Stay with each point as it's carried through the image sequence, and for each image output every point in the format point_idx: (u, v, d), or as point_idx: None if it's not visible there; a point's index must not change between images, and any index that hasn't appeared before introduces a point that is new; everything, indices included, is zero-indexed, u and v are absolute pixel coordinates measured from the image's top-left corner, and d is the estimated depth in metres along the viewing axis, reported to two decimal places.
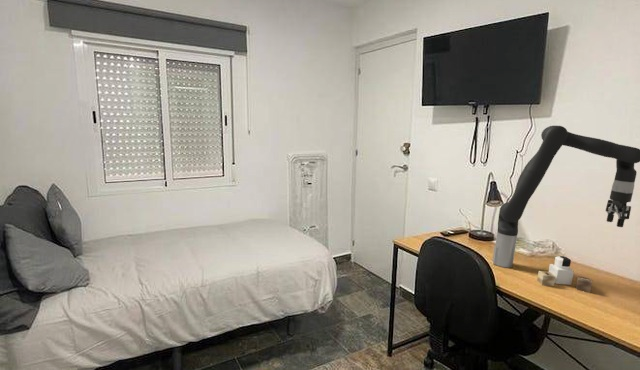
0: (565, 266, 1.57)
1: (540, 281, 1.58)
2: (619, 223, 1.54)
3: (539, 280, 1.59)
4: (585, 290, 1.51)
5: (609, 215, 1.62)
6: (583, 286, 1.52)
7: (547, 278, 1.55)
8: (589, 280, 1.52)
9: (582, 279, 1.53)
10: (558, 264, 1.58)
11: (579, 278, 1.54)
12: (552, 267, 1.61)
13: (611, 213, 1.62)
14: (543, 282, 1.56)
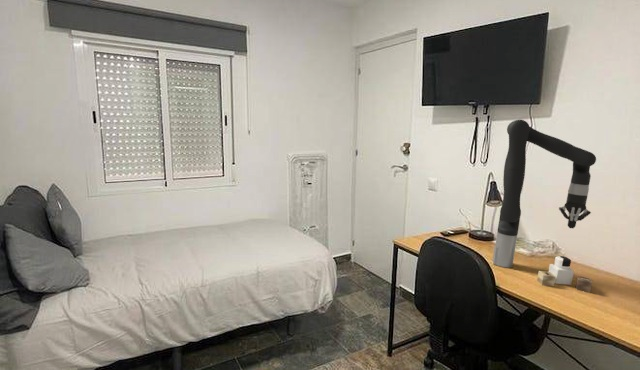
0: (565, 266, 1.57)
1: (540, 281, 1.58)
2: (574, 225, 1.62)
3: (539, 280, 1.59)
4: (585, 290, 1.51)
5: None
6: (583, 286, 1.52)
7: (547, 278, 1.55)
8: (589, 280, 1.52)
9: (582, 279, 1.53)
10: (558, 264, 1.58)
11: (579, 278, 1.54)
12: (552, 267, 1.61)
13: None
14: (543, 282, 1.56)
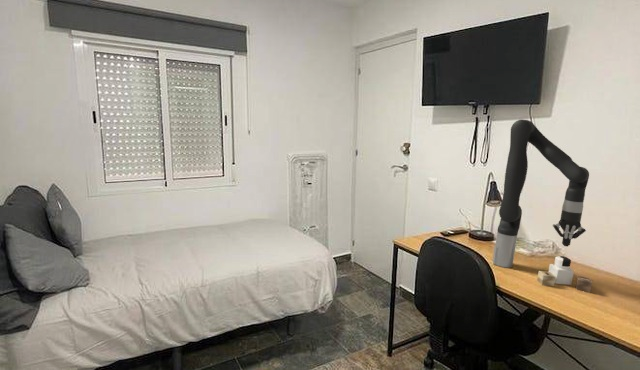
0: (565, 266, 1.57)
1: (540, 281, 1.58)
2: (569, 243, 1.57)
3: (539, 280, 1.59)
4: (585, 290, 1.51)
5: None
6: (583, 286, 1.52)
7: (547, 278, 1.55)
8: (589, 280, 1.52)
9: (582, 279, 1.53)
10: (558, 264, 1.58)
11: (579, 278, 1.54)
12: (552, 267, 1.61)
13: None
14: (543, 282, 1.56)
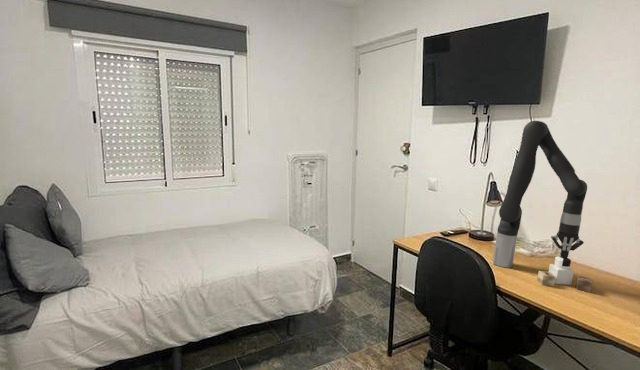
0: (565, 266, 1.57)
1: (540, 281, 1.58)
2: (567, 255, 1.58)
3: (539, 280, 1.59)
4: (585, 290, 1.51)
5: None
6: (583, 286, 1.52)
7: (547, 278, 1.55)
8: (589, 280, 1.52)
9: (582, 279, 1.53)
10: (558, 264, 1.58)
11: (579, 278, 1.54)
12: (552, 267, 1.61)
13: None
14: (543, 282, 1.56)
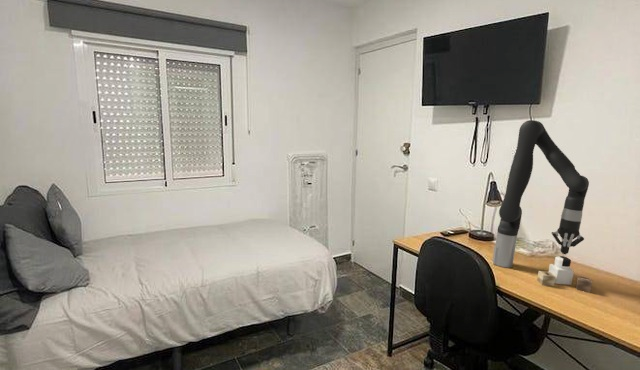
0: (565, 266, 1.57)
1: (540, 281, 1.58)
2: (567, 251, 1.57)
3: (539, 280, 1.59)
4: (585, 290, 1.51)
5: None
6: (583, 286, 1.52)
7: (547, 278, 1.55)
8: (589, 280, 1.52)
9: (582, 279, 1.53)
10: (558, 264, 1.58)
11: (579, 278, 1.54)
12: (552, 267, 1.61)
13: None
14: (543, 282, 1.56)
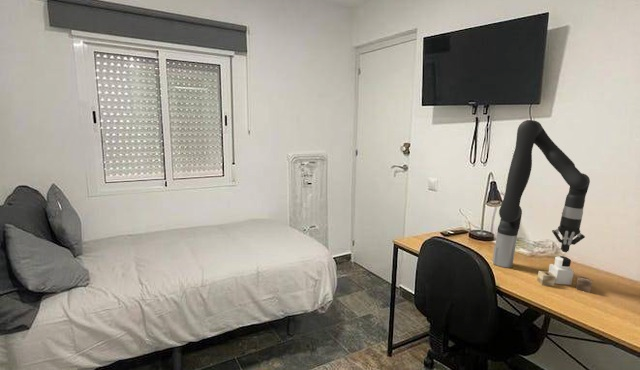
0: (565, 266, 1.57)
1: (540, 281, 1.58)
2: (568, 249, 1.57)
3: (539, 280, 1.59)
4: (585, 290, 1.51)
5: None
6: (583, 286, 1.52)
7: (547, 278, 1.55)
8: (589, 280, 1.52)
9: (582, 279, 1.53)
10: (558, 264, 1.58)
11: (579, 278, 1.54)
12: (552, 267, 1.61)
13: None
14: (543, 282, 1.56)
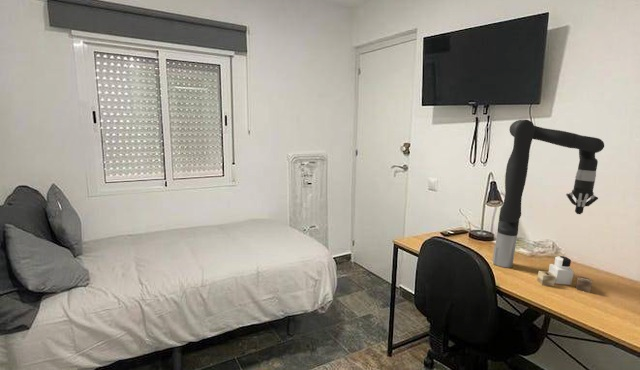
0: (565, 266, 1.57)
1: (540, 281, 1.58)
2: (582, 211, 1.65)
3: (539, 280, 1.59)
4: (585, 290, 1.51)
5: None
6: (583, 286, 1.52)
7: (547, 278, 1.55)
8: (589, 280, 1.52)
9: (582, 279, 1.53)
10: (558, 264, 1.58)
11: (579, 278, 1.54)
12: (552, 267, 1.61)
13: None
14: (543, 282, 1.56)
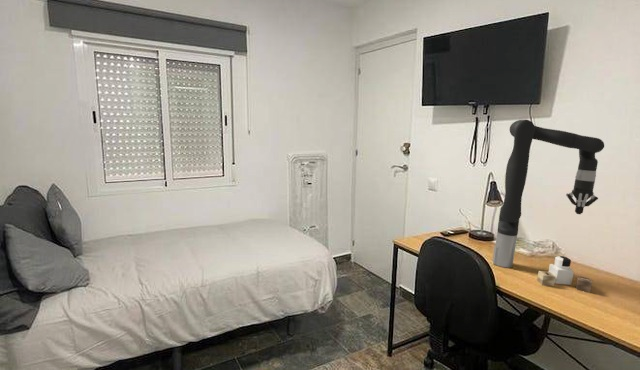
0: (565, 266, 1.57)
1: (540, 281, 1.58)
2: (582, 211, 1.65)
3: (539, 280, 1.59)
4: (585, 290, 1.51)
5: None
6: (583, 286, 1.52)
7: (547, 278, 1.55)
8: (589, 280, 1.52)
9: (582, 279, 1.53)
10: (558, 264, 1.58)
11: (579, 278, 1.54)
12: (552, 267, 1.61)
13: None
14: (543, 282, 1.56)
